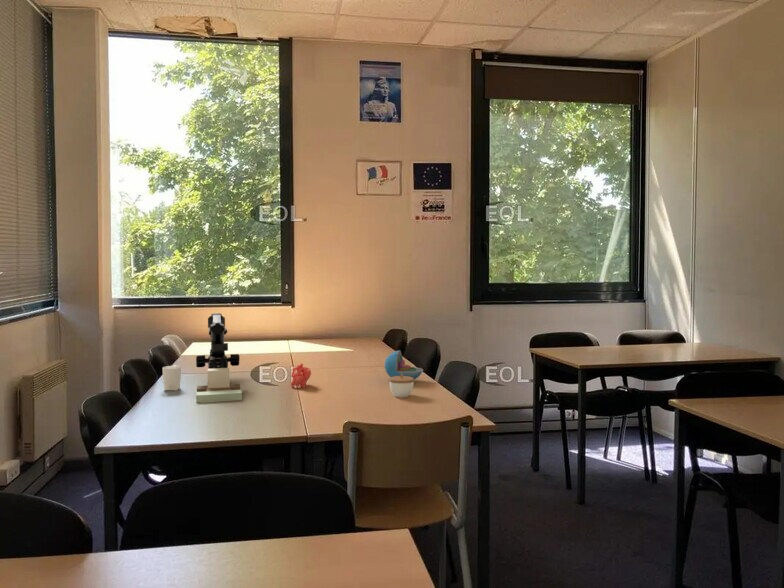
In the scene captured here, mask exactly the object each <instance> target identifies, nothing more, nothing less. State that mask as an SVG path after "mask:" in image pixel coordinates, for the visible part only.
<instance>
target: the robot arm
mask: <svg viewBox="0 0 784 588" xmlns="http://www.w3.org/2000/svg"><path fill="white" fill-rule="evenodd" d="M207 328H208V336H210V351H209V356H208V358H206V354H205V355H204V354H203V355H196V357H195V363H196V365H195V366H196V367H197V368H204V367H206V364H208V365H207V366H208V367H207V370H208V369H213V368H229V364H230V366H232V367H235V366H237V367H238V366H239V365H240V360H241V359H240V354H239V353H233V354H232V353H230V356H227V355H226V352H227V351H228V350H229V343H228V342H225V336H226V335H227V334H228V330H227V328H226V317H225V316H223V314H222V313H220V312H219V313H216V312H214V313H211V315H210V316H209V317H208V318H207Z"/></svg>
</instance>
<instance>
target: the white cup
mask: <svg viewBox="0 0 784 588" xmlns="http://www.w3.org/2000/svg"><path fill="white" fill-rule="evenodd" d="M162 380H163V390H164V389H165V390H164V391H166V390H175V391H178V389H179V390H180V389H181V380H182V366H180V365H167V366H163V367H162Z"/></svg>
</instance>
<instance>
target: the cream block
mask: <svg viewBox="0 0 784 588" xmlns="http://www.w3.org/2000/svg"><path fill="white" fill-rule="evenodd" d="M229 384H230V367H228V368H213V369H208V368H207V385H208V388H223V387H229Z"/></svg>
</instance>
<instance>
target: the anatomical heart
mask: <svg viewBox="0 0 784 588" xmlns="http://www.w3.org/2000/svg"><path fill="white" fill-rule="evenodd" d="M311 375H312V371H311V369H310V368H309V367H306V366H304V363H302V362H301V363H300V364H297V365H296V366H295V367H292V372H291V375H290V376H291V377H292V379H291V382H290V386H291V388H294V387H298V388H300V386H301V387H302V388H305V386H306V385H307V382H308V381H309V379H310V377H311Z"/></svg>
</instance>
